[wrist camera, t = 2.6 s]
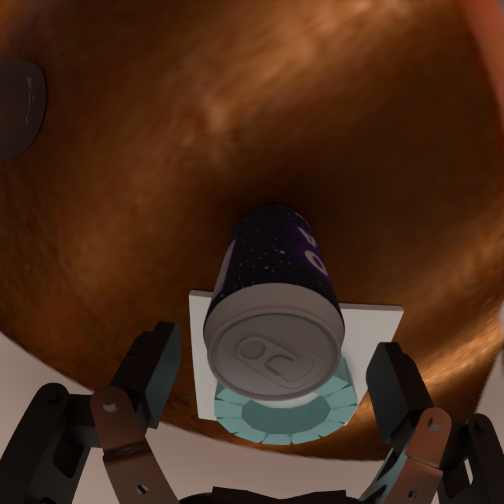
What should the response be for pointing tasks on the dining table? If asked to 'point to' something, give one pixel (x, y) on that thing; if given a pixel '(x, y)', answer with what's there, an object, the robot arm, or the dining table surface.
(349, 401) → the ring
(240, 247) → the beverage can
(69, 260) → the dining table surface
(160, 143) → the dining table surface
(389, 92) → the dining table surface
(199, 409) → the mat
